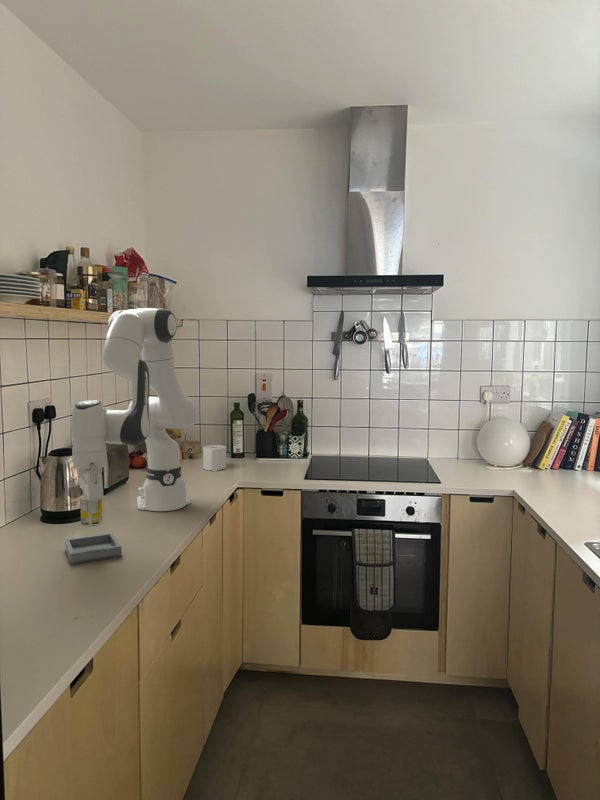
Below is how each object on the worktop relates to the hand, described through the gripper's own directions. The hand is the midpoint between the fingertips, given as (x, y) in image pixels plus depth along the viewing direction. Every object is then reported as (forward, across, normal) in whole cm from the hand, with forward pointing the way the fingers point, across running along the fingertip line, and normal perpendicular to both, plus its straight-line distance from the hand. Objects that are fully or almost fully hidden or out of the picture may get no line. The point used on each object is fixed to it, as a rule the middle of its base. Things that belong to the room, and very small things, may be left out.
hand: (91, 509), depth 166 cm
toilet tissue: (+12, +90, -67) cm, 113 cm away
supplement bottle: (+4, 0, 0) cm, 4 cm away
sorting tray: (+12, 0, 0) cm, 12 cm away
